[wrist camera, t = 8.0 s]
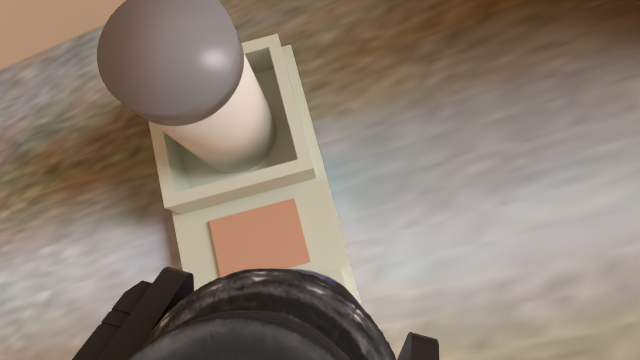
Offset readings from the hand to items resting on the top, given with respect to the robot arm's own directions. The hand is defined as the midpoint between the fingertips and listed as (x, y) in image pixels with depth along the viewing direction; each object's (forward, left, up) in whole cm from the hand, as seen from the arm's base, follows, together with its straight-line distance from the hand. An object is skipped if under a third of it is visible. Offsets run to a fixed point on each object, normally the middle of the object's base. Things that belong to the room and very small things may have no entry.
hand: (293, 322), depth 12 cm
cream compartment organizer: (+5, 0, -18) cm, 18 cm away
